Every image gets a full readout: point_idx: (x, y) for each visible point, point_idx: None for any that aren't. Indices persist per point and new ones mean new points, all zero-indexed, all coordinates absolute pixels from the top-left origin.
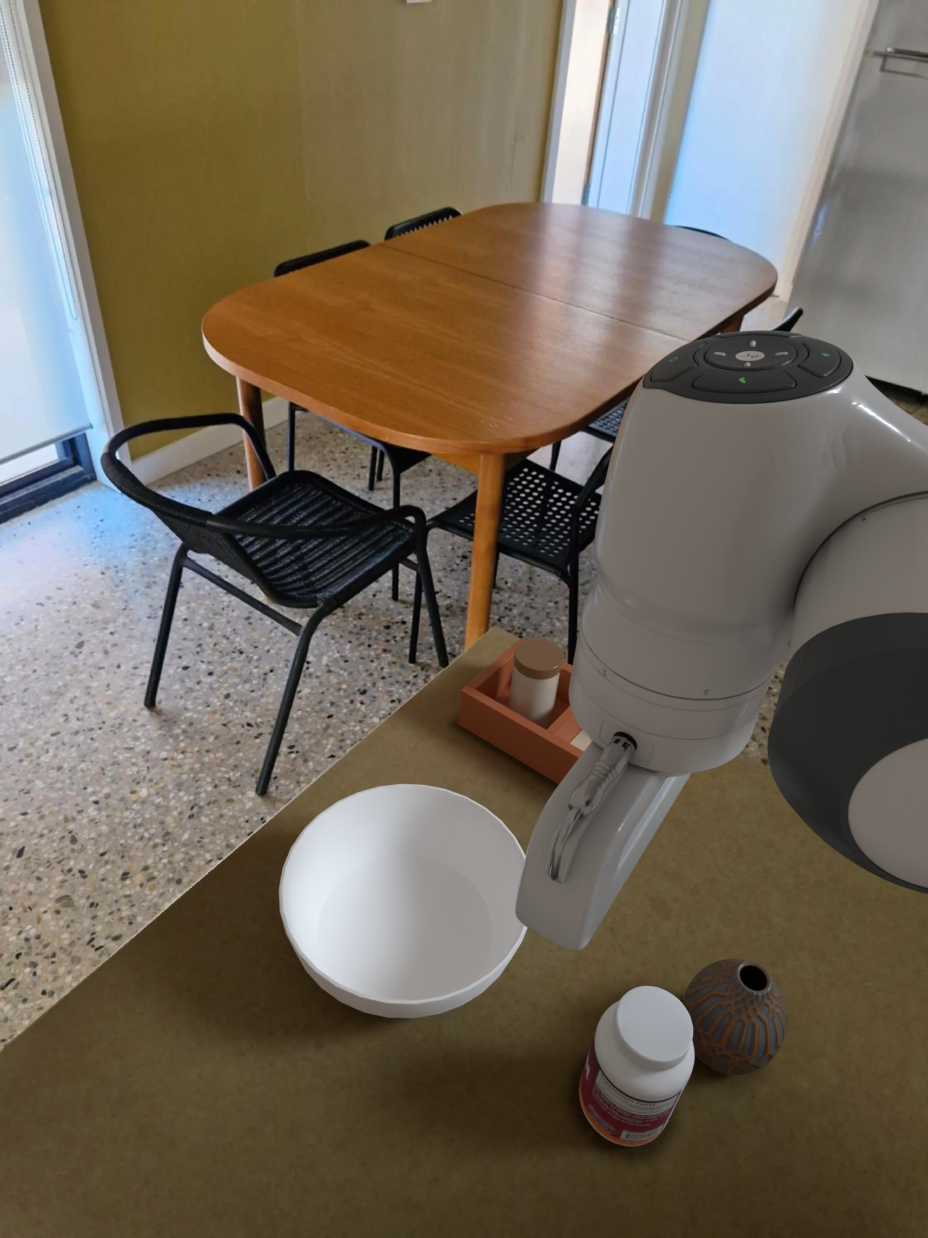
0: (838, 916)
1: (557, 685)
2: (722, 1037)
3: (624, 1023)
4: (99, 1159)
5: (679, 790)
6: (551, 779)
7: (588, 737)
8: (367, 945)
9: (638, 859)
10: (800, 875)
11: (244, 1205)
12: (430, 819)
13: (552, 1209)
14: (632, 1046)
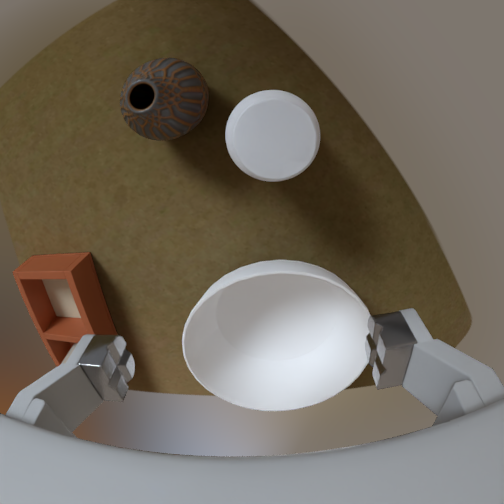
0: (42, 103)
1: (66, 357)
2: (197, 91)
3: (298, 163)
4: (448, 325)
5: (122, 490)
6: (108, 311)
7: (68, 311)
8: (300, 323)
9: (432, 461)
10: (34, 140)
11: (442, 269)
12: (211, 361)
13: (360, 132)
14: (314, 144)
